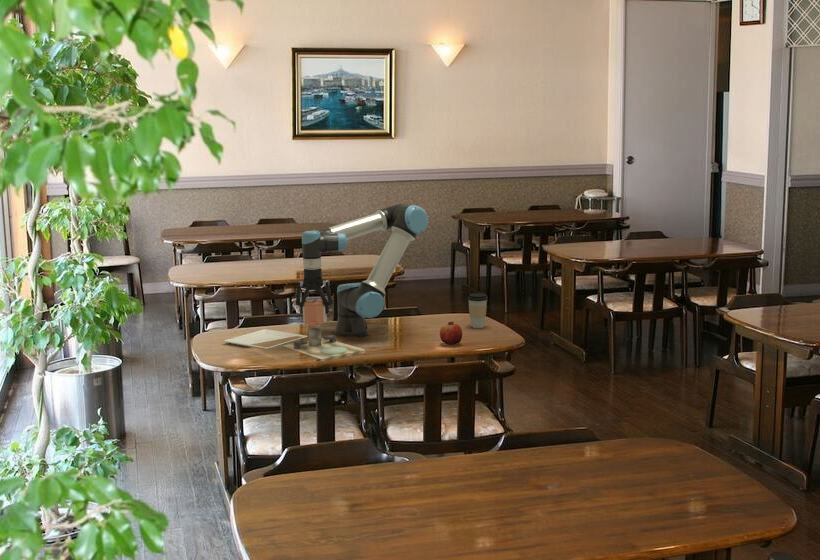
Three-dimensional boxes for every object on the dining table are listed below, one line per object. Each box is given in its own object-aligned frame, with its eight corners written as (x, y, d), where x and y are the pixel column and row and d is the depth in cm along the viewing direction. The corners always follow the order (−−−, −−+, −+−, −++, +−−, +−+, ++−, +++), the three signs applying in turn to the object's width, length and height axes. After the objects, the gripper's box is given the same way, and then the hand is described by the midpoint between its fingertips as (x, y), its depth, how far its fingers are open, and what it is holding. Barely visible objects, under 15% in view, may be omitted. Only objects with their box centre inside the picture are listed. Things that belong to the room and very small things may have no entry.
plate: (264, 333, 447) (264, 328, 447) (308, 340, 432) (308, 335, 432) (223, 345, 426) (222, 340, 426) (267, 352, 411) (267, 348, 411)
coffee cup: (474, 323, 456) (474, 292, 454) (492, 326, 451) (491, 294, 448) (463, 327, 449) (463, 295, 446) (481, 330, 443) (481, 297, 441)
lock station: (325, 340, 430) (324, 321, 429) (365, 352, 407) (365, 333, 406) (281, 348, 417) (281, 329, 415) (321, 361, 393) (320, 342, 392)
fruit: (458, 348, 411) (458, 325, 409) (436, 346, 415) (436, 323, 413) (466, 342, 421) (466, 319, 419) (444, 341, 424) (443, 318, 423)
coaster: (337, 346, 413) (337, 345, 413) (352, 351, 405) (352, 349, 404) (315, 351, 406) (315, 349, 406) (330, 356, 398) (330, 354, 398)
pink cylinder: (308, 318, 422) (307, 297, 420) (327, 318, 421) (327, 297, 419) (301, 325, 408) (300, 303, 407) (321, 325, 407) (320, 303, 406)
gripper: (285, 269, 408) (288, 323, 412) (335, 269, 406) (337, 323, 410) (290, 266, 415) (292, 319, 419) (338, 266, 413) (340, 319, 417)
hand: (315, 321), depth 415 cm, fingers closed on pink cylinder, 8 cm apart
